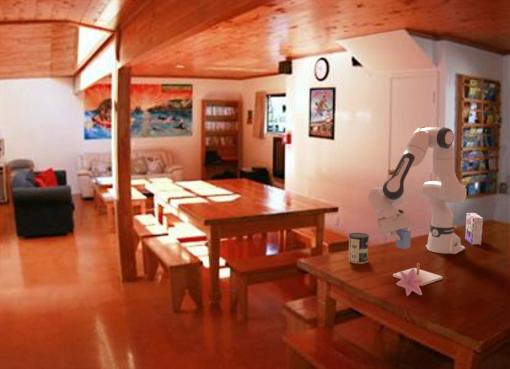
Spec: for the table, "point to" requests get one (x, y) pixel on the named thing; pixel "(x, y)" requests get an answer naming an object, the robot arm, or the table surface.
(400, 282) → the lily
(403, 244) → the blue domed block
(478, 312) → the table surface
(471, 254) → the table surface
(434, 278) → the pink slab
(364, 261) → the coffee can
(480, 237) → the candy box
